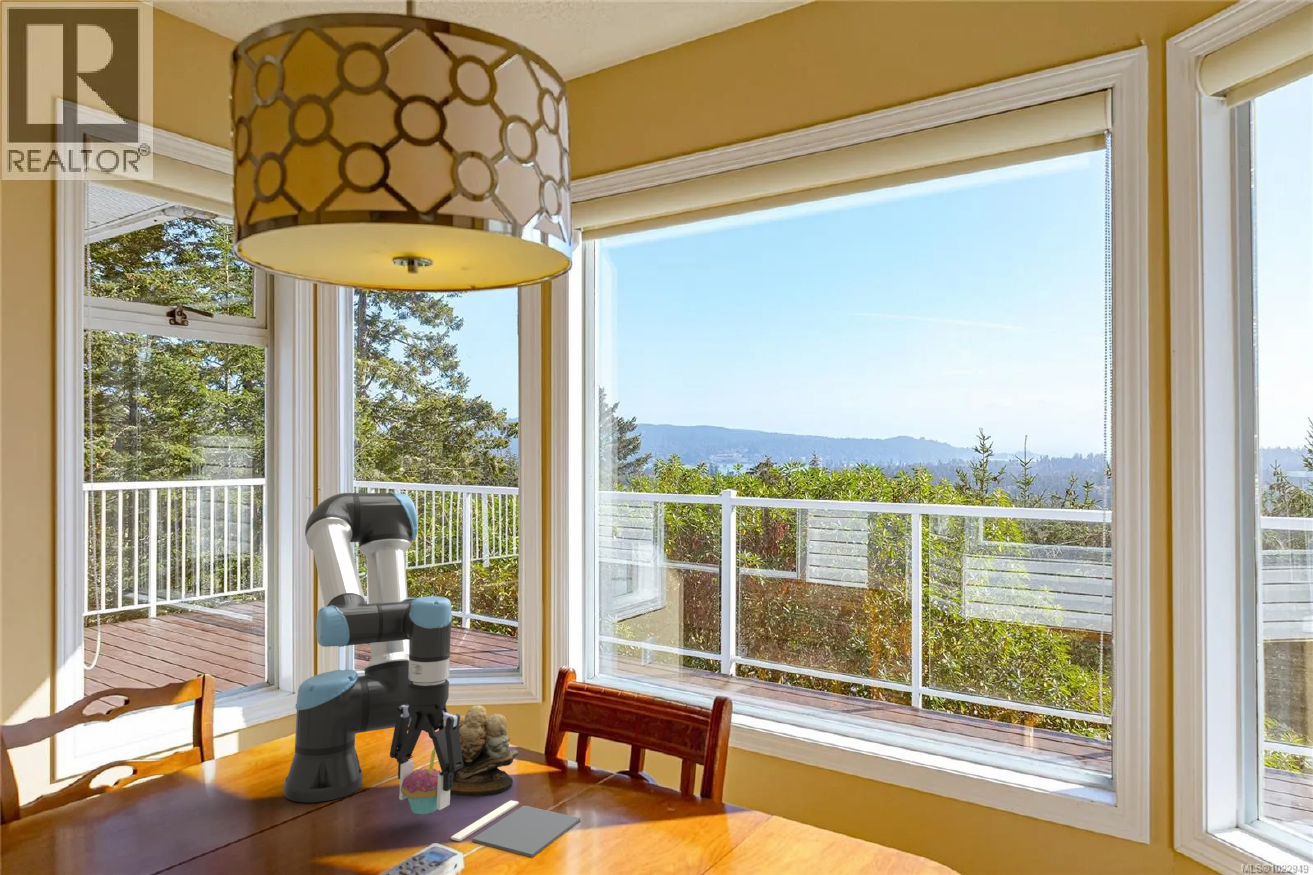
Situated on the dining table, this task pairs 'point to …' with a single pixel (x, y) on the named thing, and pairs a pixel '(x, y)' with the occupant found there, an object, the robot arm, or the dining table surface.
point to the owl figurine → (483, 754)
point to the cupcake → (422, 789)
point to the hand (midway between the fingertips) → (424, 801)
